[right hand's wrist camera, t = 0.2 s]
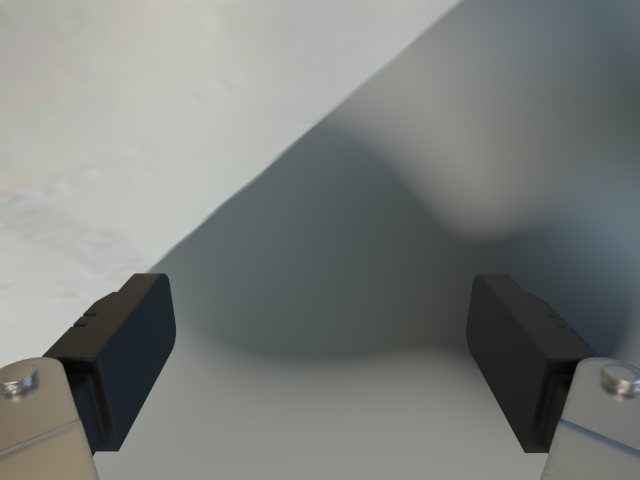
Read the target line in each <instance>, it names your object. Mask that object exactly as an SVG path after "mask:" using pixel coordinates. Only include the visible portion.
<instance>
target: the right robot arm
mask: <svg viewBox="0 0 640 480" xmlns="http://www.w3.org/2000/svg"><path fill="white" fill-rule="evenodd" d="M466 336H467V343H468V347H469V350H470V352H471V353H472V355H473V357H474V359H475V361H476V363H477V365H478V367H479V368H480V370H481V372H482V374H483V376H484V378H485V380H486V381H487V383H488V385H489V387H490V389H491V391H492V393H493V394H494V396H495V398H496V400H497V402H498V404H499V406H500V407H501V409H502V411H503V413H504V415H505V417H506V419H507V420H508V422H509V424H510V426H511V428H512V430H513V432H514V433H515V435H516V437H517V439H518V441H519V443H520V445H521V447H522V448H523V450H524V452H525V453H548V457H547V460H546V463H545V466H544V470H543V473H542V476H541V479H540V480H640V369H639V368H637V367H635V366H633V365H631V364H628V363H625V362H622V361H618V360H615V359H610V358H602V357H601V356H600V355H599V354H598V353H597V352H596V351H595V350H594V349H593V348H592V347H591V346H590V345H589V344H588V343H587V342H586V341H585V340H584V339H583V338H582V337H581V336H580V335H579V334H578V333H577V332H576V331H575V330H574V329H573V328H570V325H569V324H568V323H567V322H566V321H565V320H564V319H563V318H562V317H560V315H559V314H558V313H557V312H556V311H555V310H554V309H553V308H552V307H551V306H550V305H549V304H548V303H547V302H545V301H543V300H542V299H540V298H538V297H536V296H535V295H533V294H531V293H525V292H524V291H523V290H522V289H521V287H520V286H519V285H518V284H517V283H516V282H515V281H514V280H513V279H512V278H511V277H510V276H509V275H508V274H477V275H476V276H475V278H474V281H473V285H472V292H471V299H470V306H469V313H468V319H467V326H466ZM175 337H176V324H175V317H174V310H173V303H172V297H171V289H170V283H169V279H168V277H167V275H166V274H164V273H136V274H134V275H133V276H132V277H131V278H130V279H129V280H128V281H127V282H126V283H125V284H124V285H123V286H122V288H121V289H120V290H119V291H118V292H112V293H110V294H109V295H107V296H105V297H103V298H102V299H100V300H98V301H96V302H95V303H94V304H93V305H92V306H91V307H90V308H89V309H88V310H87V311H86V312H85V313H84V314H83V317H80V318H79V319H78V320H77V321H76V322H75V323H74V326H73V327H70V328H69V329H68V330H67V331H66V332H65V333H64V334H63V336H62V337H61V338H60V339H59V340H58V341H57V342H56V343H55V344H54V345H53V346H52V347H51V348H50V349H49V350H48V351H47V352H46V353H45V354H44V355H43V356H42V357H38V358H30V359H25V360H21V361H18V362H15V363H12V364H9V365H7V366H5V367H2V368H1V369H0V480H100V479H99V476H98V473H97V470H96V466H95V463H94V460H93V456H94V454H95V452H96V451H119V449H120V447H121V445H122V444H123V442H124V440H125V438H126V436H127V434H128V432H129V430H130V429H131V427H132V425H133V423H134V421H135V419H136V417H137V415H138V413H139V411H140V410H141V408H142V406H143V404H144V402H145V400H146V398H147V396H148V395H149V393H150V391H151V389H152V387H153V385H154V383H155V381H156V380H157V378H158V376H159V374H160V372H161V370H162V368H163V366H164V364H165V363H166V361H167V359H168V357H169V355H170V353H171V351H172V349H173V347H174V343H175Z"/></svg>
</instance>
